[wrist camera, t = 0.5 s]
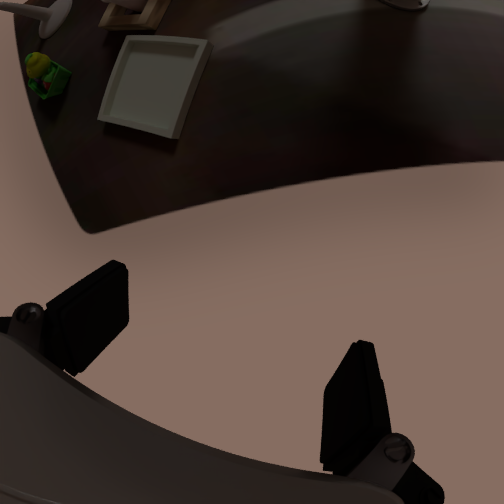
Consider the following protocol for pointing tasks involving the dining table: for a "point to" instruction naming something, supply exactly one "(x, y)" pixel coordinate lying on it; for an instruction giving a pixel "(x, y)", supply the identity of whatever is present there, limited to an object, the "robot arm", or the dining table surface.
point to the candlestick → (42, 14)
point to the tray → (154, 83)
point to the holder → (134, 17)
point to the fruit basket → (45, 75)
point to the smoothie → (130, 4)
